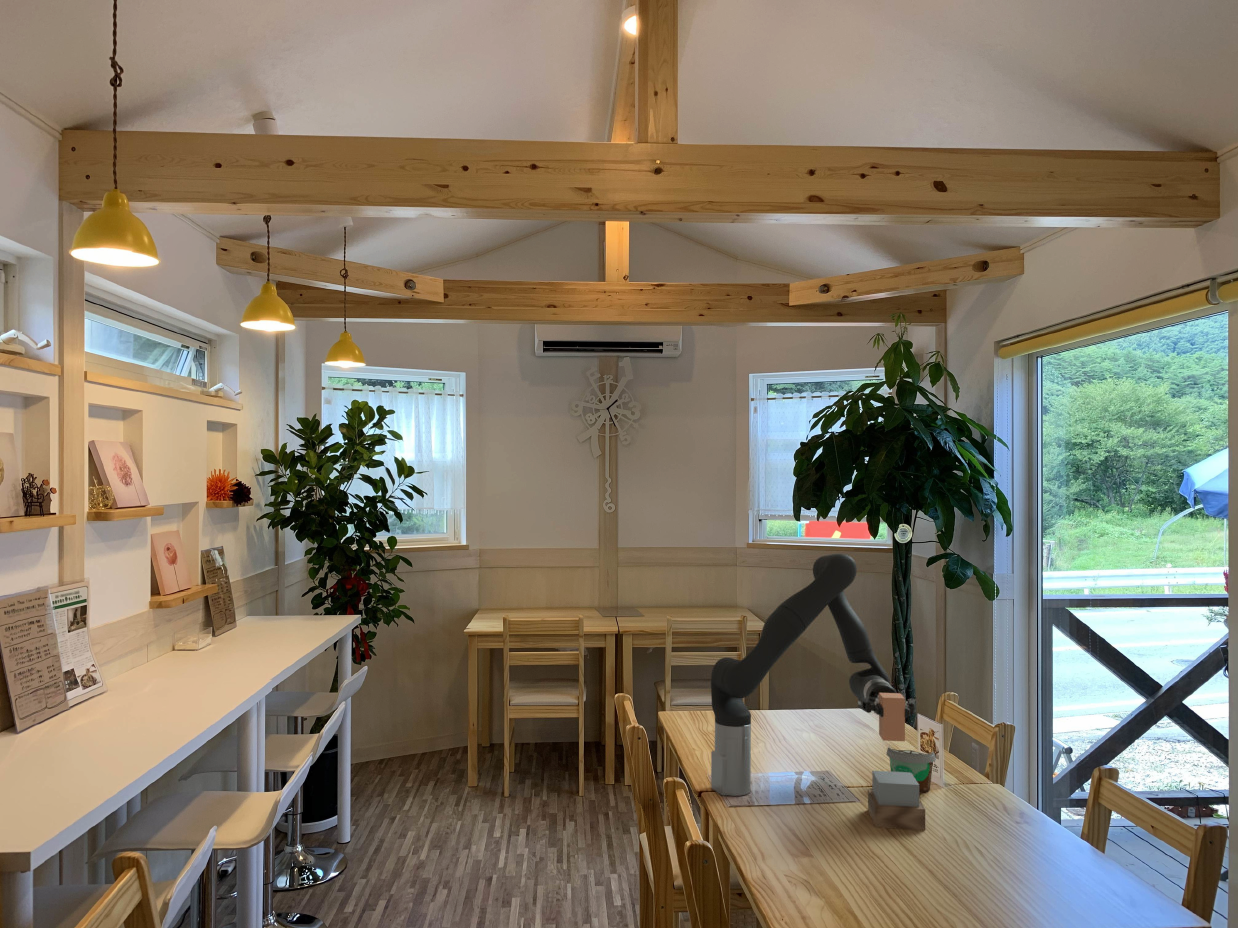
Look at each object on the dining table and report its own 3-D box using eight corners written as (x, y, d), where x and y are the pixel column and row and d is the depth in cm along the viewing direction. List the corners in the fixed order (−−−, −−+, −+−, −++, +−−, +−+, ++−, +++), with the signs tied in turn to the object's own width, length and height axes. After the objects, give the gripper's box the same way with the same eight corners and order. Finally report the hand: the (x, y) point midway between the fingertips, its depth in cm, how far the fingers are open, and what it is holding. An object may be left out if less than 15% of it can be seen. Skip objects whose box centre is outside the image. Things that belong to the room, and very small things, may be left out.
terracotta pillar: (883, 740, 202) (882, 697, 202) (879, 734, 207) (879, 692, 207) (904, 741, 201) (904, 698, 201) (900, 735, 206) (900, 693, 206)
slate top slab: (878, 804, 198) (878, 782, 198) (872, 791, 207) (872, 770, 207) (919, 806, 197) (919, 784, 197) (911, 793, 206) (911, 772, 206)
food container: (882, 789, 222) (882, 750, 222) (886, 782, 227) (886, 744, 228) (932, 797, 216) (932, 757, 217) (936, 790, 222) (935, 751, 222)
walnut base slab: (875, 828, 197) (875, 806, 197) (868, 811, 207) (868, 790, 208) (925, 831, 195) (925, 809, 195) (915, 813, 206) (915, 792, 206)
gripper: (851, 680, 219) (862, 695, 202) (909, 682, 218) (925, 697, 201) (851, 709, 219) (862, 727, 202) (909, 712, 217) (926, 730, 200)
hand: (894, 712), depth 201 cm, fingers closed on terracotta pillar, 5 cm apart
